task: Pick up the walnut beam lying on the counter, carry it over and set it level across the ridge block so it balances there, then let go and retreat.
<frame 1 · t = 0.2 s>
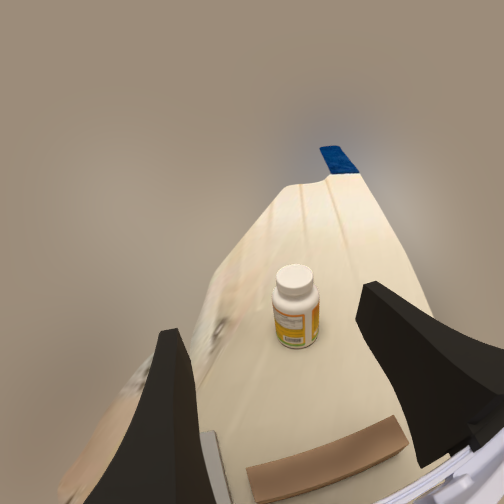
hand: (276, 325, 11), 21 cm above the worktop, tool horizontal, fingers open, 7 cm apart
supplement bottle: (297, 333, 36), on the worktop
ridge: (190, 474, 22), on the worktop
beam: (327, 469, 21), on the worktop
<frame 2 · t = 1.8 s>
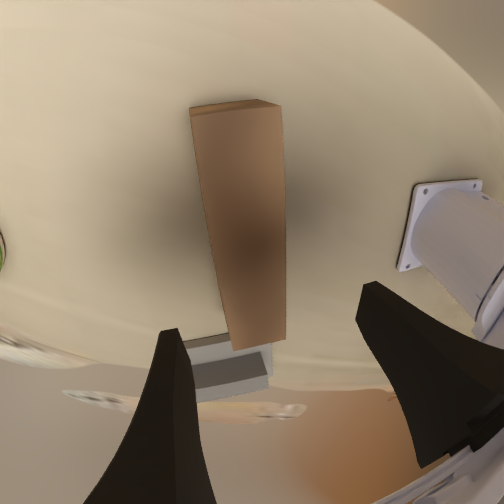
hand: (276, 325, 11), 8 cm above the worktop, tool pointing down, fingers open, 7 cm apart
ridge: (219, 360, 24), on the worktop
beam: (236, 220, 17), on the worktop
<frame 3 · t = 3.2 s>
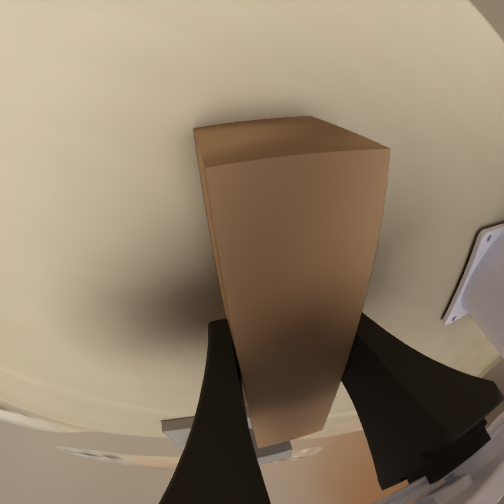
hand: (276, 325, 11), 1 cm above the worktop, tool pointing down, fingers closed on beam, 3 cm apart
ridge: (234, 428, 19), on the worktop
beam: (265, 297, 12), on the worktop, touching gripper
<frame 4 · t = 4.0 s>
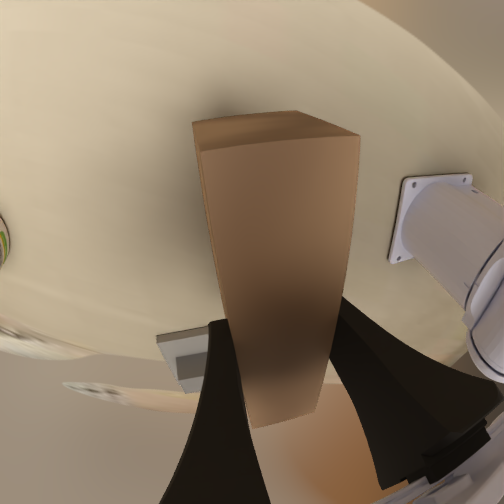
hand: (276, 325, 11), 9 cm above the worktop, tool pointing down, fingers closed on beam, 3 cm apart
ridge: (216, 350, 25), on the worktop
beam: (258, 279, 13), point 6 cm above the worktop, touching gripper
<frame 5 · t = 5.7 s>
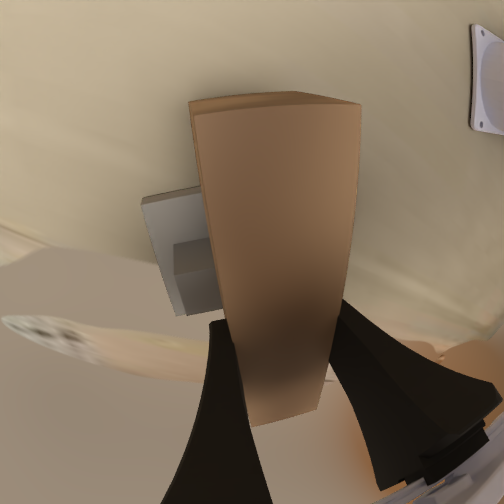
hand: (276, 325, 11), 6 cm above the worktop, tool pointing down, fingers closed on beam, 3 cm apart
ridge: (244, 242, 15), on the worktop
beam: (257, 268, 12), point 3 cm above the worktop, touching gripper, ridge
when the fingers open (6 cm above the worktop, at t = 5.9 s): beam stays where it is, resting on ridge.
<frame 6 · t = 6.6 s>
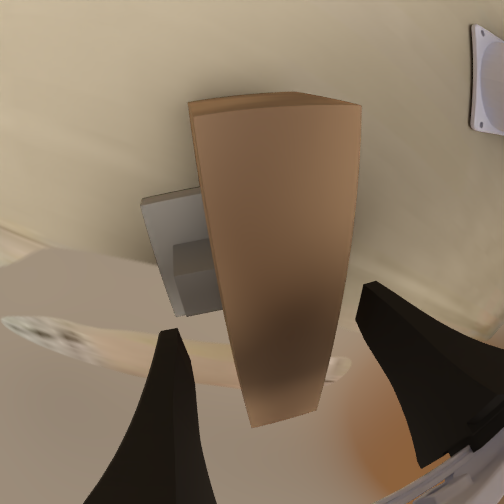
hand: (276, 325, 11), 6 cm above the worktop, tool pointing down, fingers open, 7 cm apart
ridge: (244, 243, 15), on the worktop
beam: (257, 269, 12), point 3 cm above the worktop, touching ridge
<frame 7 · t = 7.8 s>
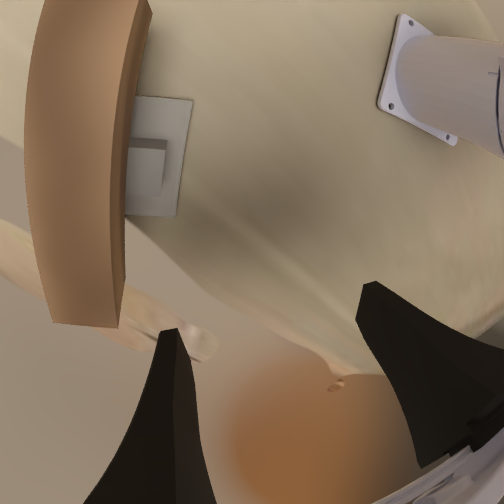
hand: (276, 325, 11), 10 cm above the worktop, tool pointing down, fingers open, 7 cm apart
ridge: (107, 153, 15), on the worktop
beam: (93, 156, 12), point 3 cm above the worktop, touching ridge
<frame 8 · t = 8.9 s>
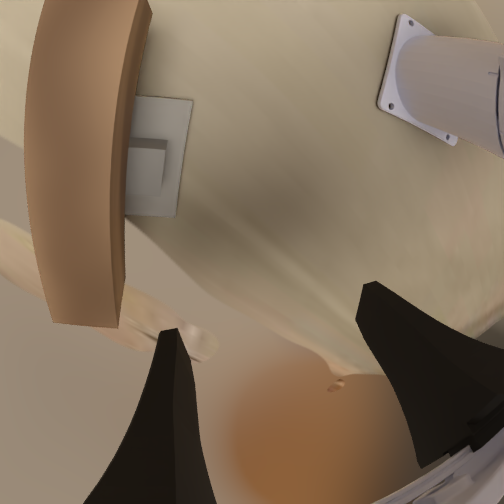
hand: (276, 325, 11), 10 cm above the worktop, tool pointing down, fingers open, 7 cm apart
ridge: (107, 153, 15), on the worktop
beam: (93, 156, 12), point 3 cm above the worktop, touching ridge
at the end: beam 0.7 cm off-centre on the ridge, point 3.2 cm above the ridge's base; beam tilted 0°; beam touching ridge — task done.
